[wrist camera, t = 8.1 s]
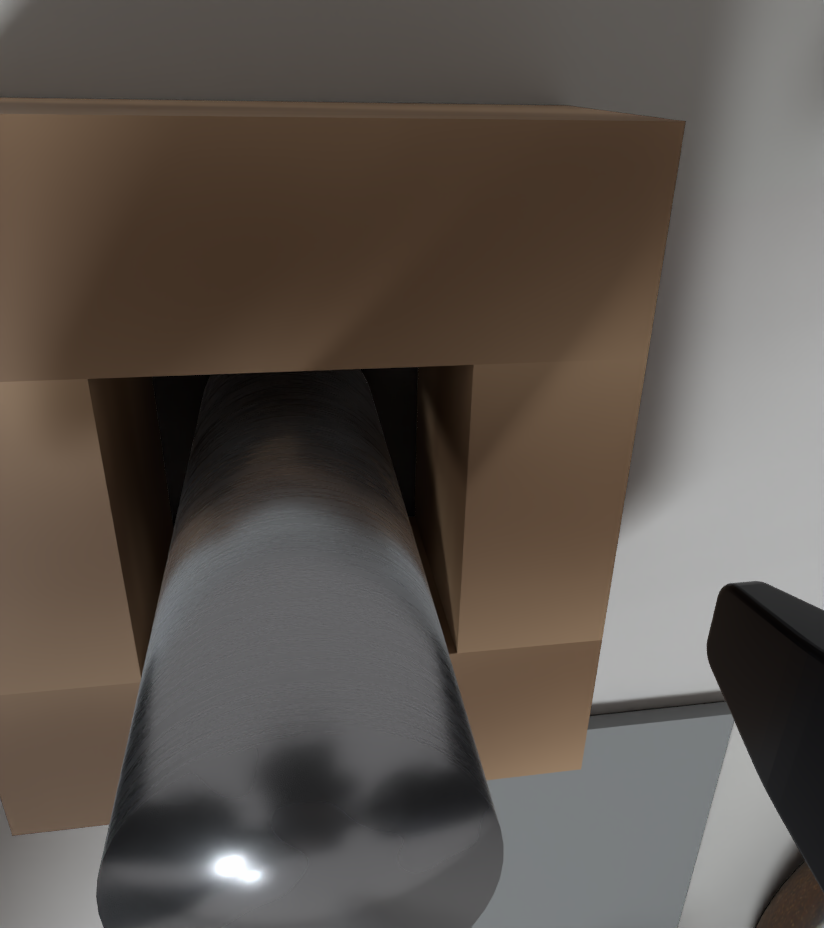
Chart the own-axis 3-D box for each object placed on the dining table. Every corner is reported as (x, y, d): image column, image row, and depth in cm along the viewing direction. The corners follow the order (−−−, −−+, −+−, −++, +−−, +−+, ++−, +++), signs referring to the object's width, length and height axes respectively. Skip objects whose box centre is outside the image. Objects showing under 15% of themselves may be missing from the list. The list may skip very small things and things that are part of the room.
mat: (666, 933, 23) (672, 947, 23) (395, 974, 22) (397, 989, 21) (727, 701, 19) (735, 713, 18) (398, 736, 18) (401, 750, 17)
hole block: (516, 620, 17) (580, 768, 13) (72, 659, 15) (12, 835, 12) (566, 105, 12) (686, 121, 9) (-56, 96, 11) (-214, 111, 7)
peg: (374, 484, 15) (490, 975, 7) (209, 494, 14) (129, 1032, 6) (373, 329, 13) (519, 717, 5) (192, 335, 13) (61, 765, 5)
